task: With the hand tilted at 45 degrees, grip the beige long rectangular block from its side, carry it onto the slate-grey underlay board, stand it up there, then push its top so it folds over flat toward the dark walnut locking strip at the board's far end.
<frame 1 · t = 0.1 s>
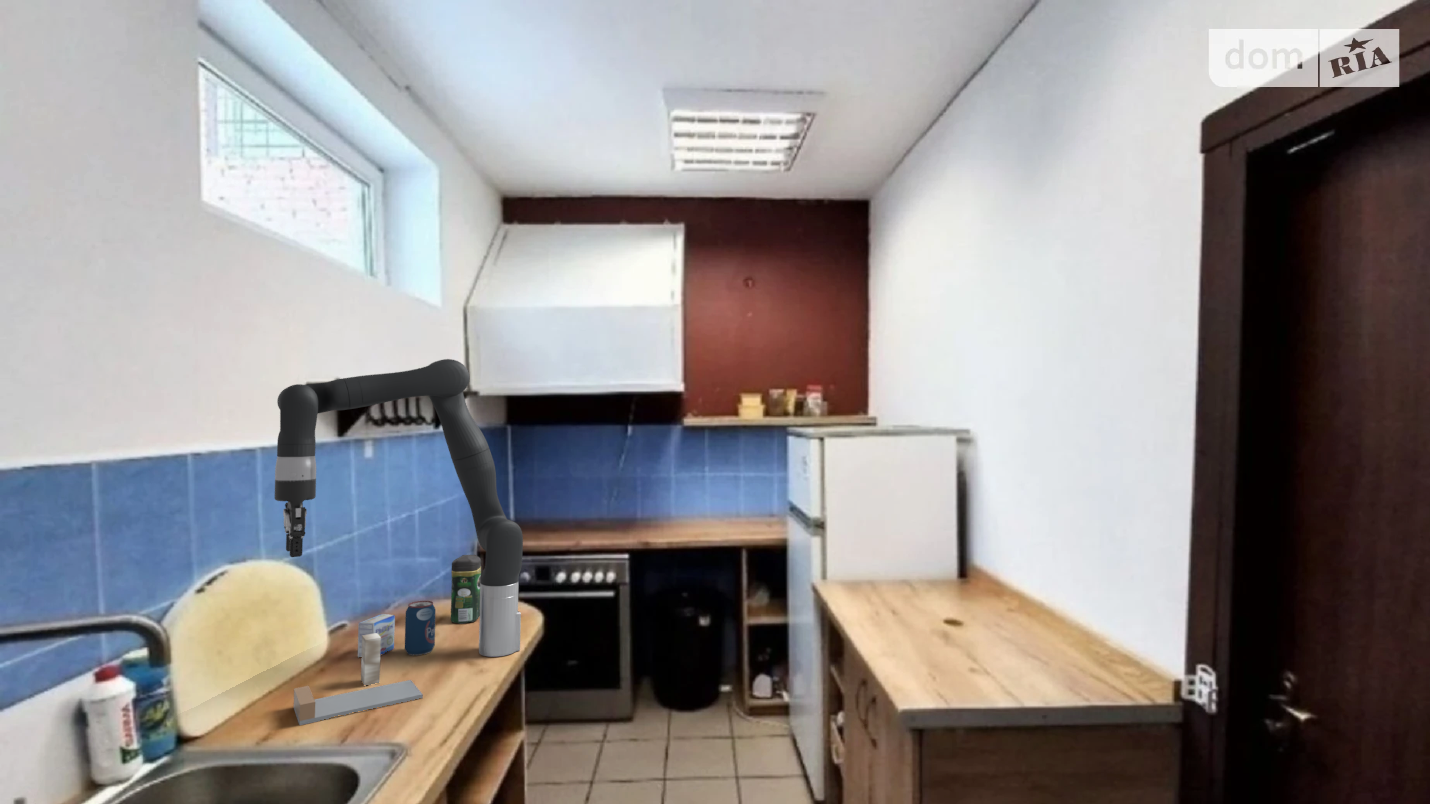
hand: (293, 553, 145), 29 cm above the table, tool pointing down, fingers open, 8 cm apart
medicine box: (376, 654, 169), on the table
coffee jar: (465, 620, 198), on the table
underlay board: (359, 702, 138), on the table
beige long rectangular block: (370, 682, 150), on the table
soda can: (419, 652, 170), on the table
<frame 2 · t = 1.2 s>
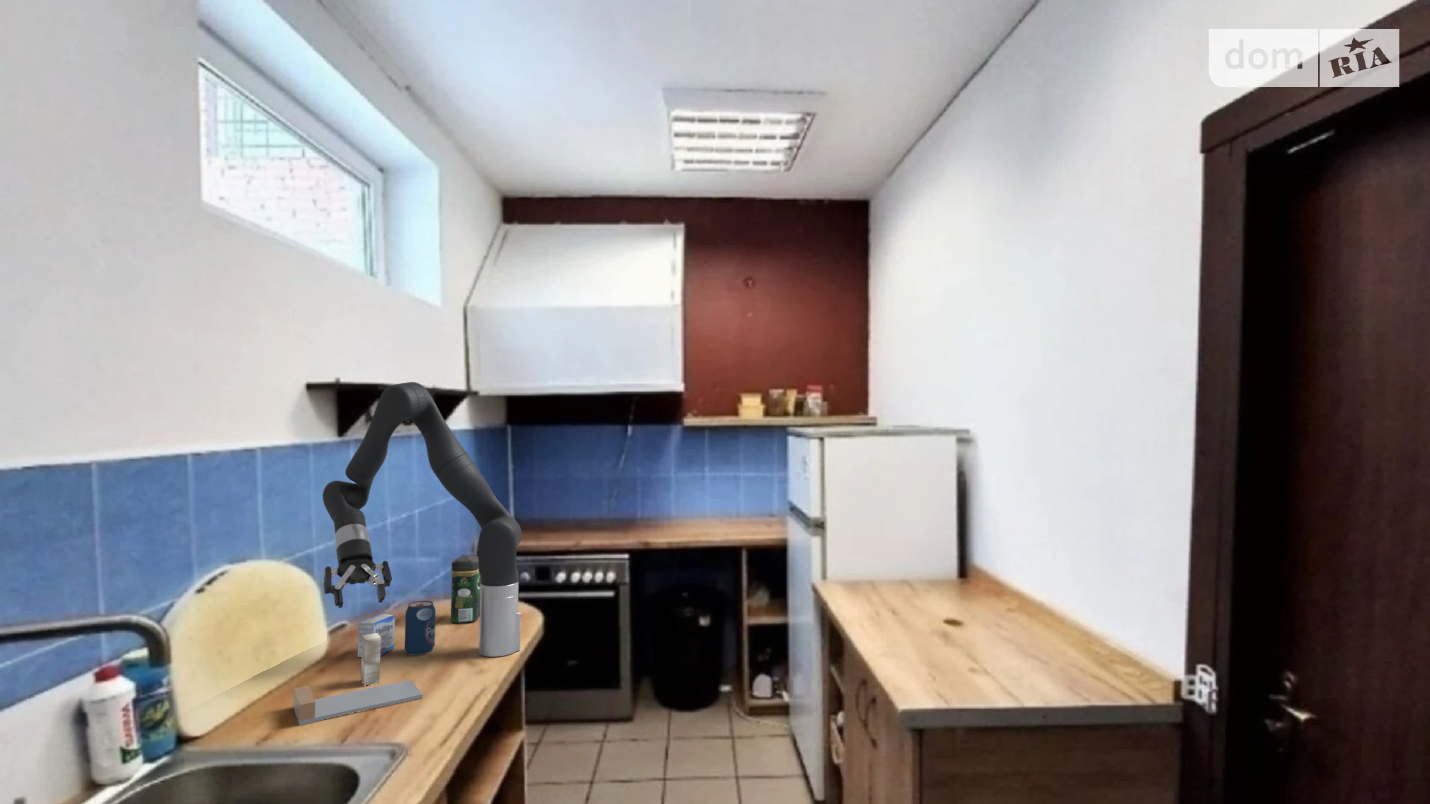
hand: (361, 603, 159), 15 cm above the table, tool tilted 45°, fingers open, 8 cm apart
nothing on the table moved.
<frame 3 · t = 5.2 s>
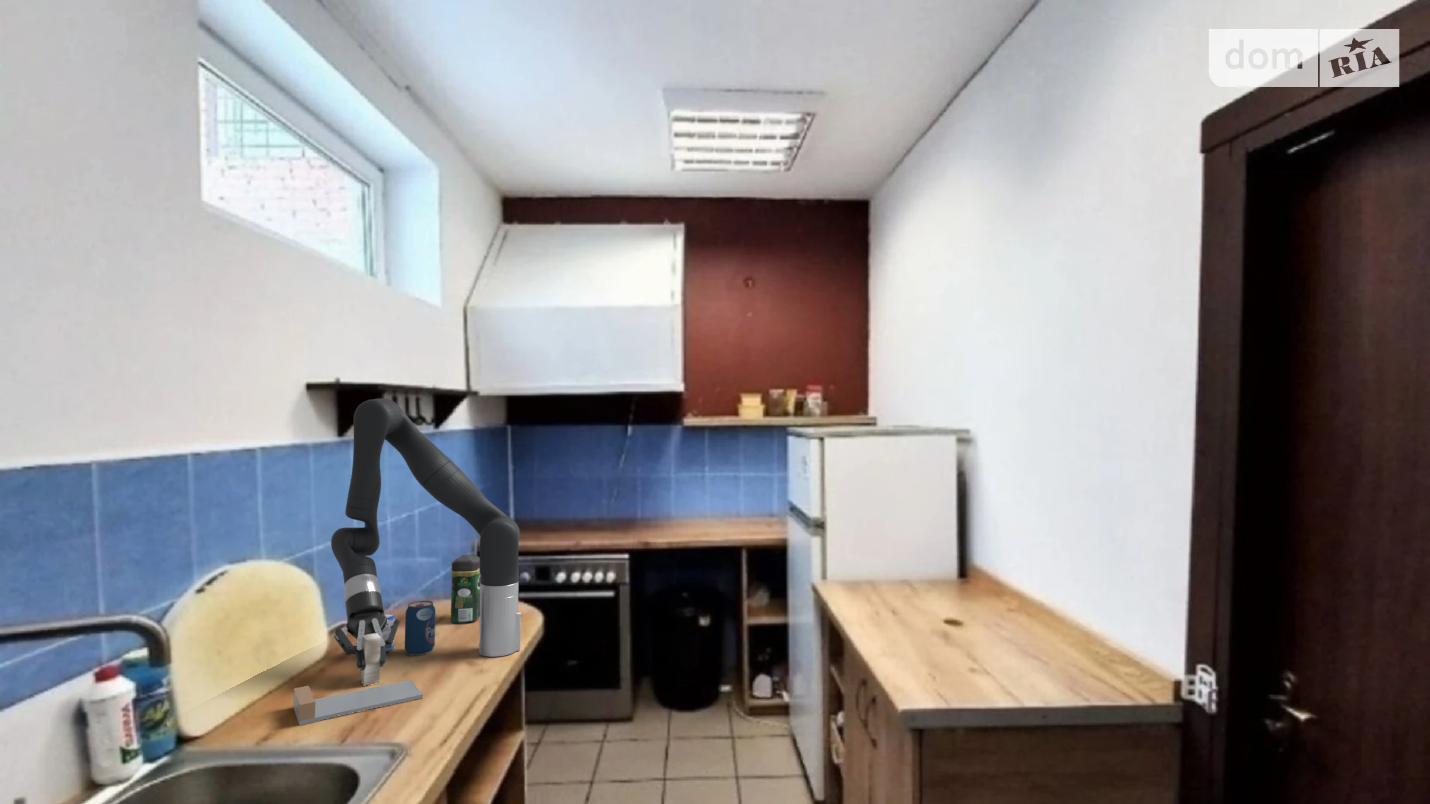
hand: (372, 666, 148), 4 cm above the table, tool tilted 45°, fingers closed on beige long rectangular block, 3 cm apart
beige long rectangular block: (370, 682, 150), on the table, touching gripper
everything else where it was.
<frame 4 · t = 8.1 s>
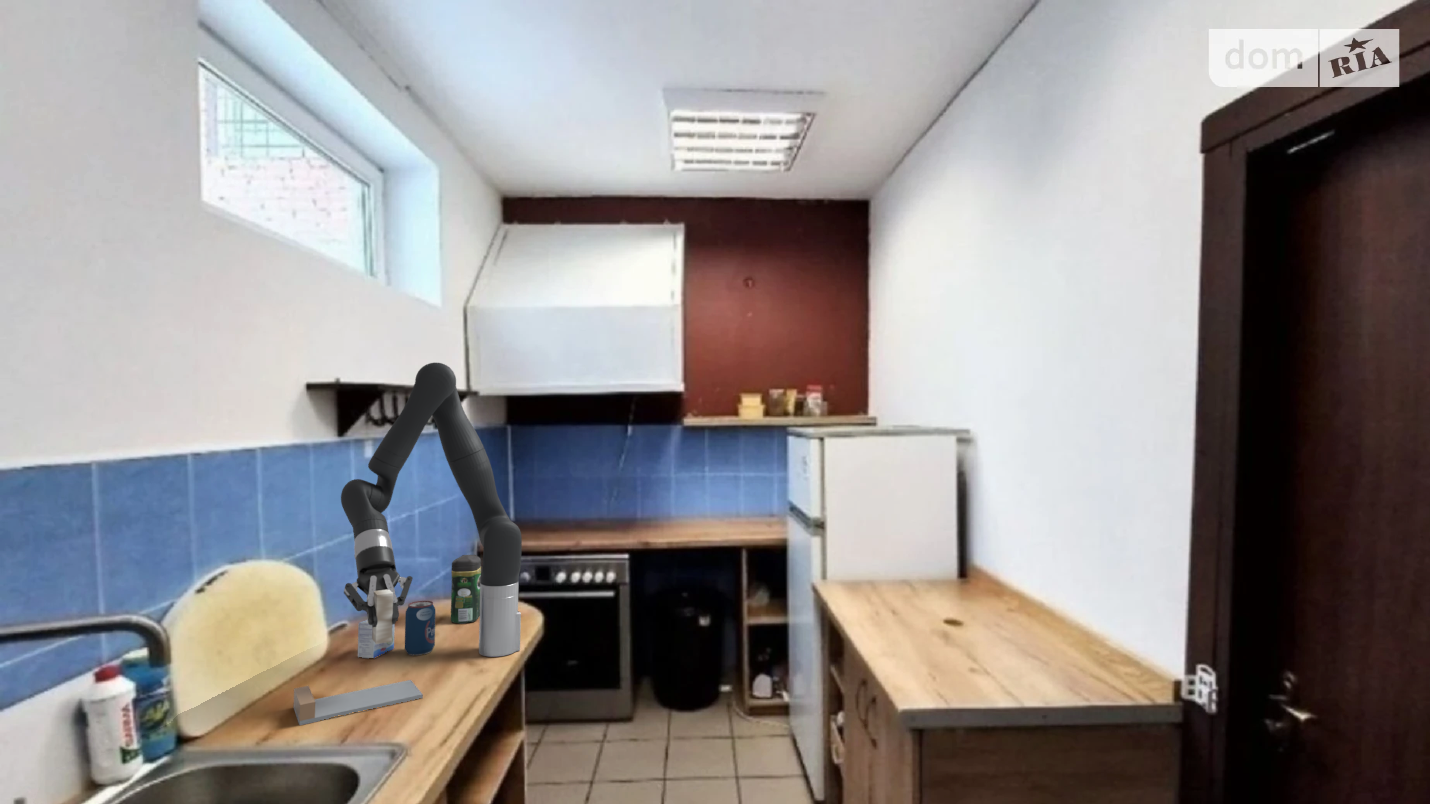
hand: (384, 623, 140), 16 cm above the table, tool tilted 45°, fingers closed on beige long rectangular block, 3 cm apart
beige long rectangular block: (381, 640, 141), point 12 cm above the table, touching gripper
everything else where it was.
when the fingers open (5 cm above the table, at t = 10.8 s): beige long rectangular block stays where it is, resting on underlay board.
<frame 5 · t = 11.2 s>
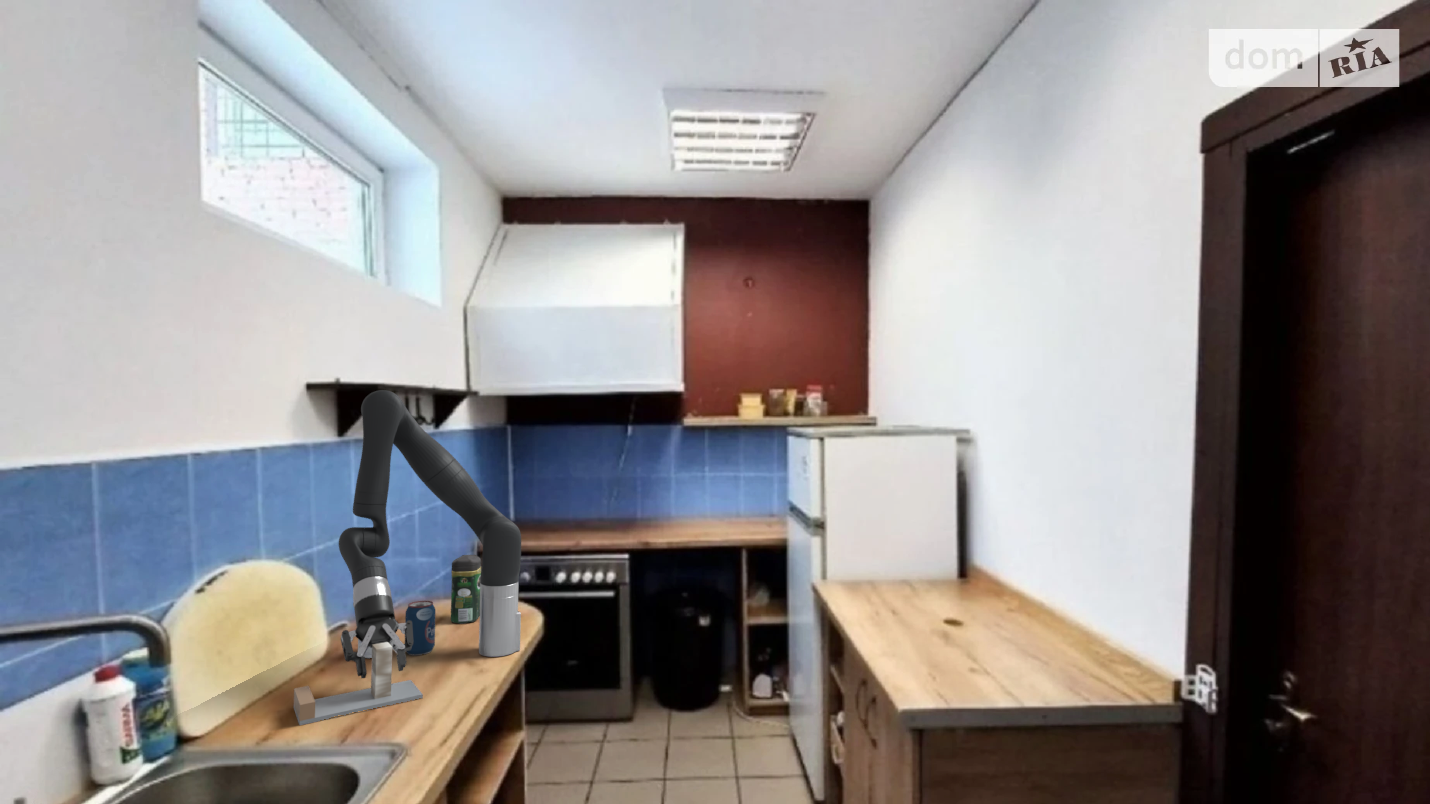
hand: (383, 672, 140), 6 cm above the table, tool tilted 45°, fingers open, 6 cm apart
beige long rectangular block: (380, 694, 141), point 1 cm above the table, touching underlay board
everything else where it was.
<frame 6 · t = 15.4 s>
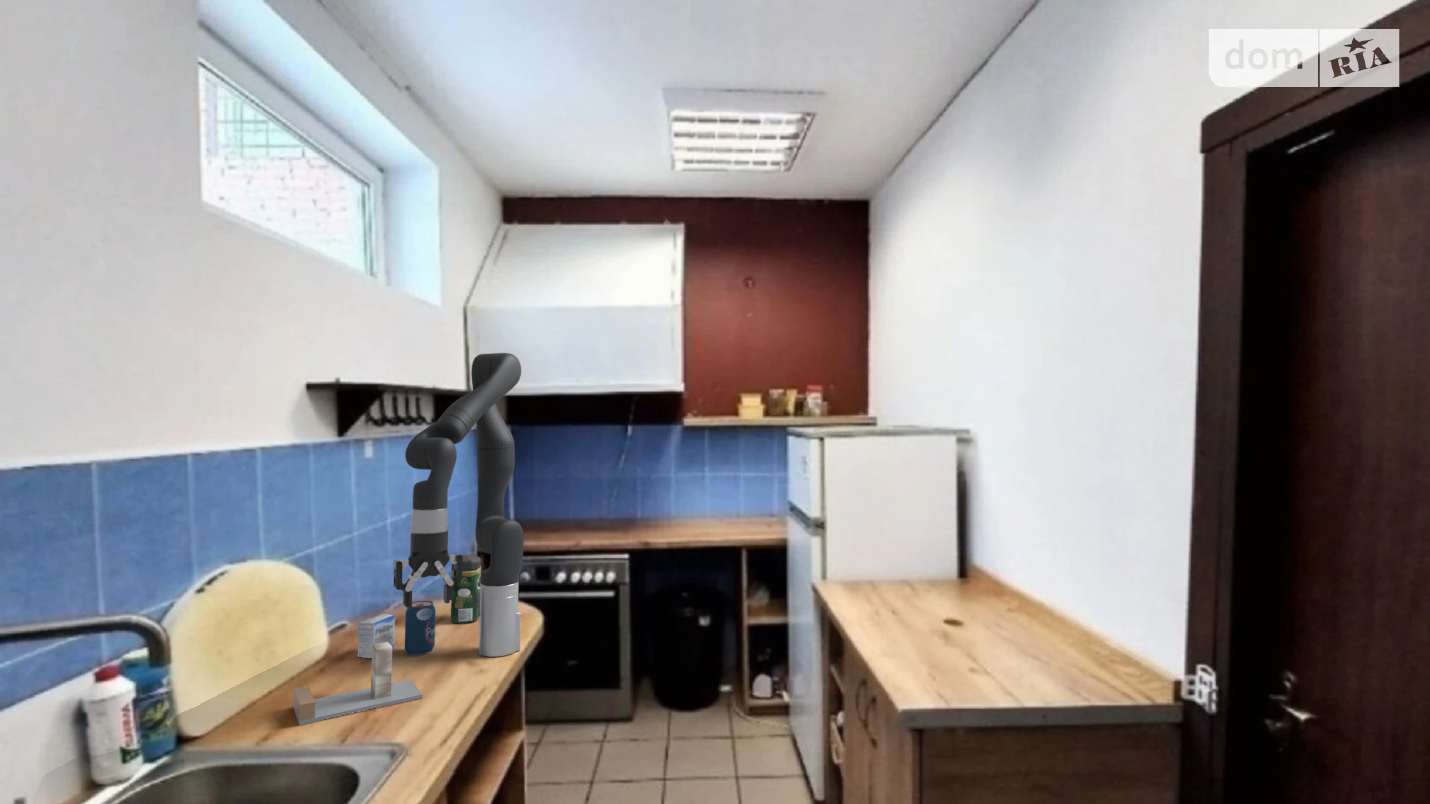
hand: (428, 605, 147), 18 cm above the table, tool pointing down, fingers open, 7 cm apart
nothing on the table moved.
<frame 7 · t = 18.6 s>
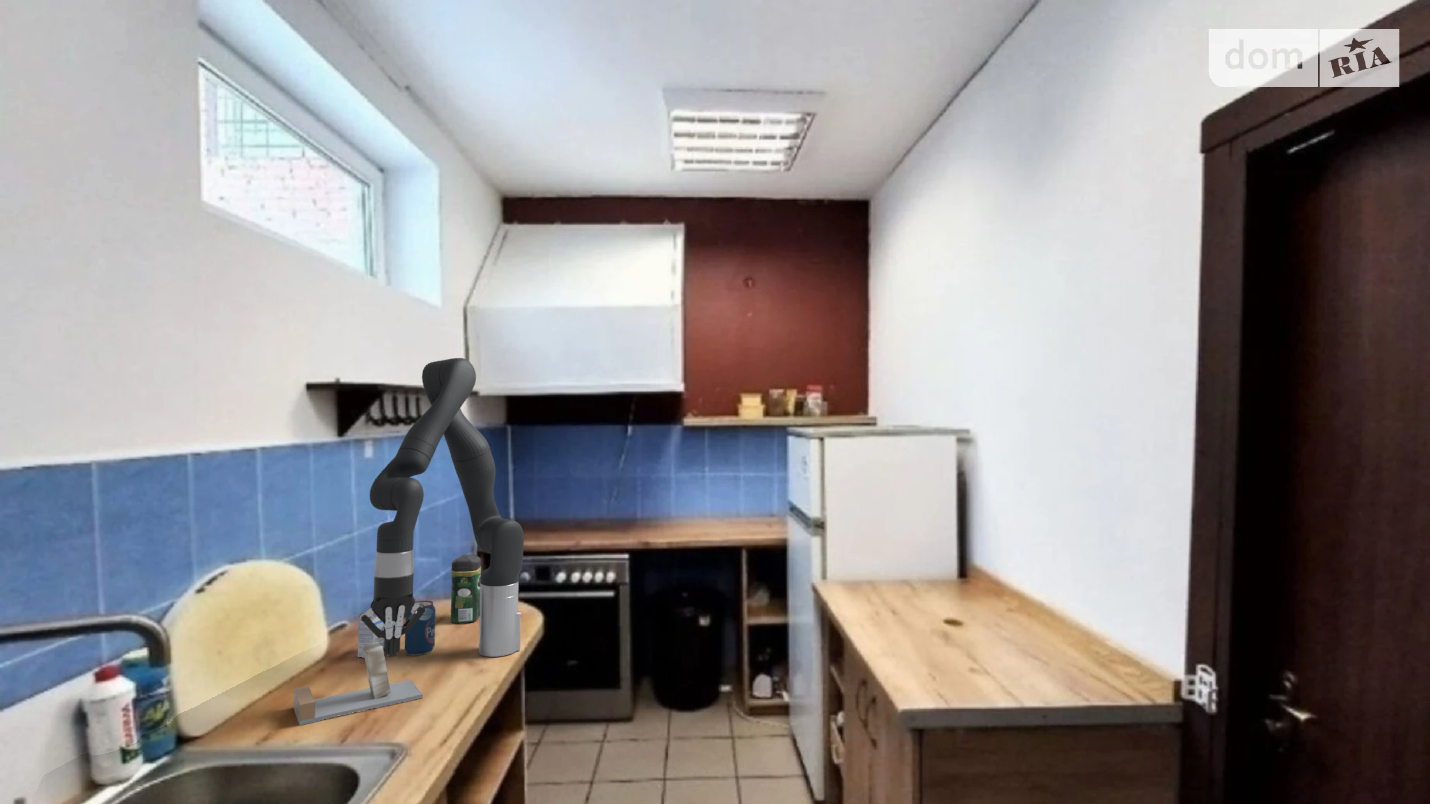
hand: (391, 655, 142), 8 cm above the table, tool pointing down, fingers closed
beige long rectangular block: (380, 693, 141), point 1 cm above the table, tilted 10°, touching underlay board
everything else where it was.
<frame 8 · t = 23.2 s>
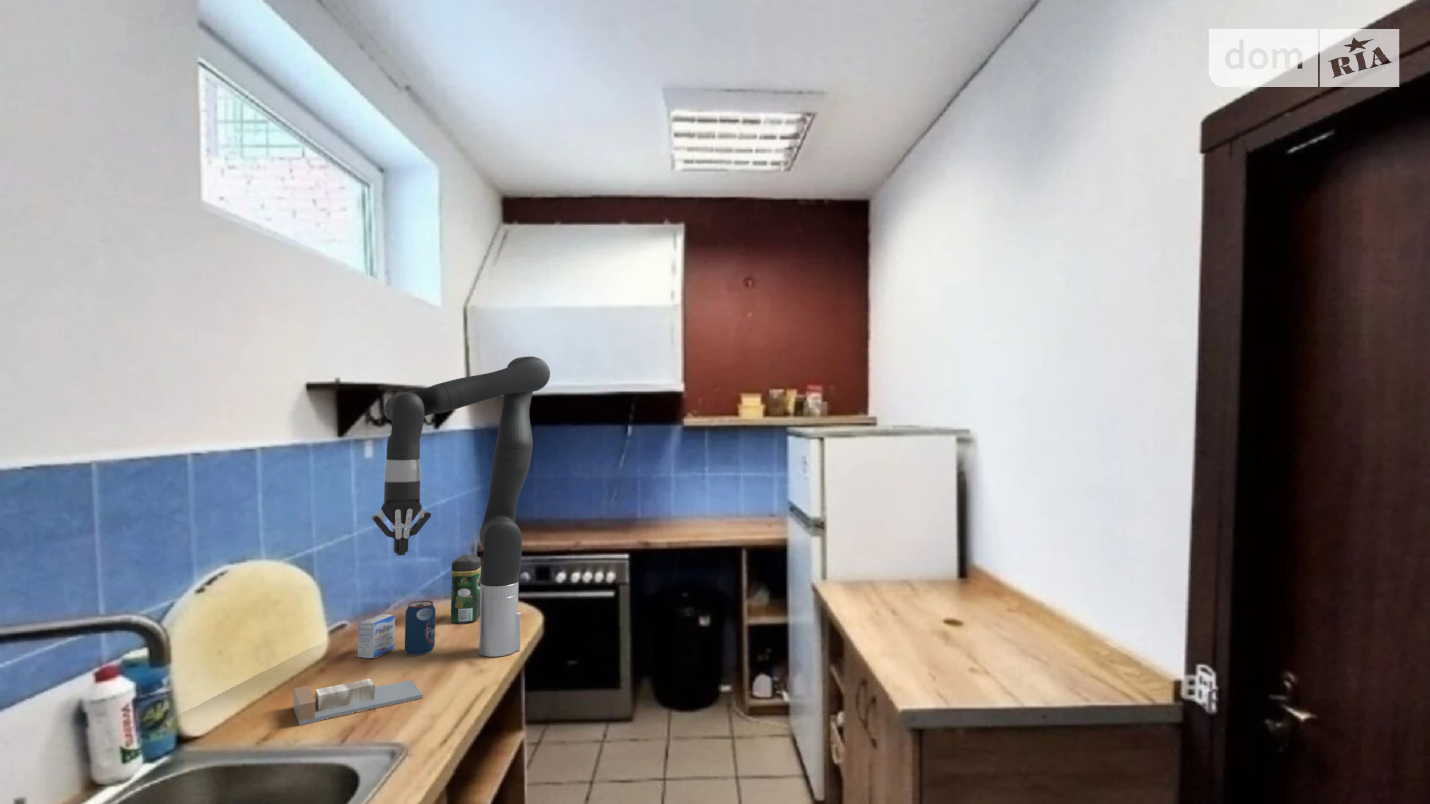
hand: (400, 554, 156), 27 cm above the table, tool pointing down, fingers closed
beige long rectangular block: (372, 688, 140), point 2 cm above the table, tilted 90°, touching underlay board
everything else where it was.
at the end: beige long rectangular block tilted 90°; beige long rectangular block inside the target area (3.9 cm from its centre), point 2.3 cm above the table; beige long rectangular block touching underlay board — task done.
